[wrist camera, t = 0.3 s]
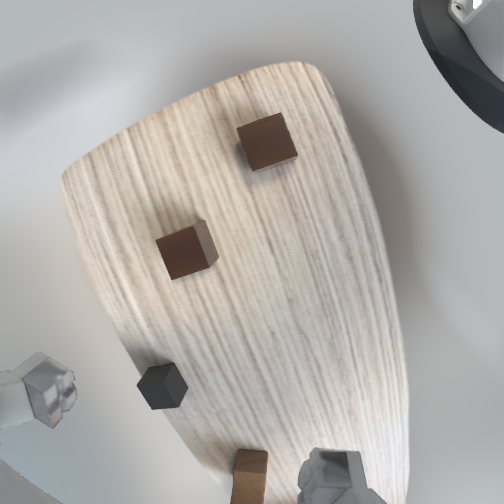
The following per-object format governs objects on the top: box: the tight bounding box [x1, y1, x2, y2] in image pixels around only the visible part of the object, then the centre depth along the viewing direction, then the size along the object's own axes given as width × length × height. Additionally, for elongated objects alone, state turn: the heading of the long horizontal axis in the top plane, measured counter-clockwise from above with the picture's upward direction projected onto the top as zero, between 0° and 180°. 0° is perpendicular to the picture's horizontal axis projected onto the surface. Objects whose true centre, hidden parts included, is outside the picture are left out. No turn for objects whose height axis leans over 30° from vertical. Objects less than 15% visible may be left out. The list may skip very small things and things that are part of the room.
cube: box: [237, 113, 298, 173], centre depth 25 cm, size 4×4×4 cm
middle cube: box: [156, 220, 219, 280], centre depth 28 cm, size 4×4×4 cm
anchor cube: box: [137, 363, 188, 410], centre depth 33 cm, size 4×4×4 cm
